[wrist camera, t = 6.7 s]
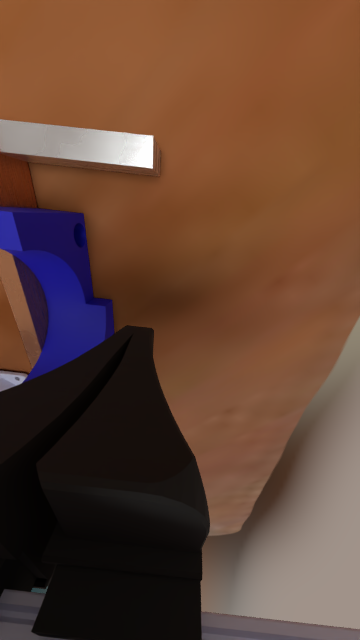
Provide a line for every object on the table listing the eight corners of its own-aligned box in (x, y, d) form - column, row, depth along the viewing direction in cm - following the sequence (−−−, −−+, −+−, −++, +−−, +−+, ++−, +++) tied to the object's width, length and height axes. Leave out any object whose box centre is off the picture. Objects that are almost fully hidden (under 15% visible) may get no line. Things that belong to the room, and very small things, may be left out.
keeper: (60, 367, 20) (39, 390, 17) (1, 133, 11) (-58, 108, 9) (151, 377, 20) (145, 403, 17) (160, 150, 11) (150, 130, 9)
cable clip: (116, 356, 19) (87, 411, 14) (70, 351, 19) (22, 404, 14) (107, 215, 13) (49, 216, 8) (40, 208, 13) (-62, 203, 8)
